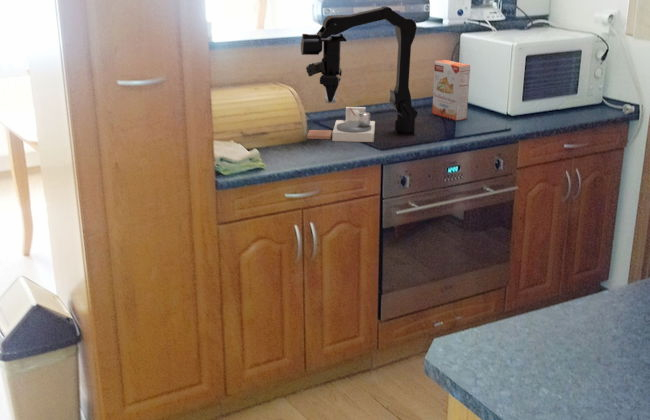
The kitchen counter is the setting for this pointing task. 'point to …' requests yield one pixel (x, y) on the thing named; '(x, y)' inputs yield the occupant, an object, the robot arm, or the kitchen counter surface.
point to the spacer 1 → (333, 97)
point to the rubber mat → (319, 134)
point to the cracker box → (451, 89)
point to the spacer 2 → (364, 119)
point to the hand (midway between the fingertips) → (330, 100)
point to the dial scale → (353, 127)
